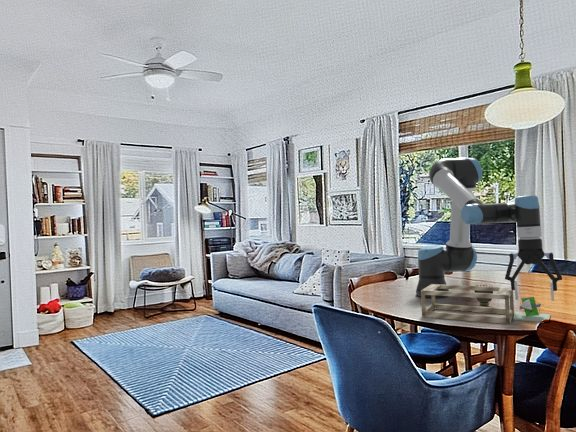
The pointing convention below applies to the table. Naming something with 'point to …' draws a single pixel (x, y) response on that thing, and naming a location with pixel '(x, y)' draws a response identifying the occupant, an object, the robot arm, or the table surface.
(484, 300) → the cup
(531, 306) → the geometric puzzle
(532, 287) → the table surface
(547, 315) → the felt pad
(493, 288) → the crate
